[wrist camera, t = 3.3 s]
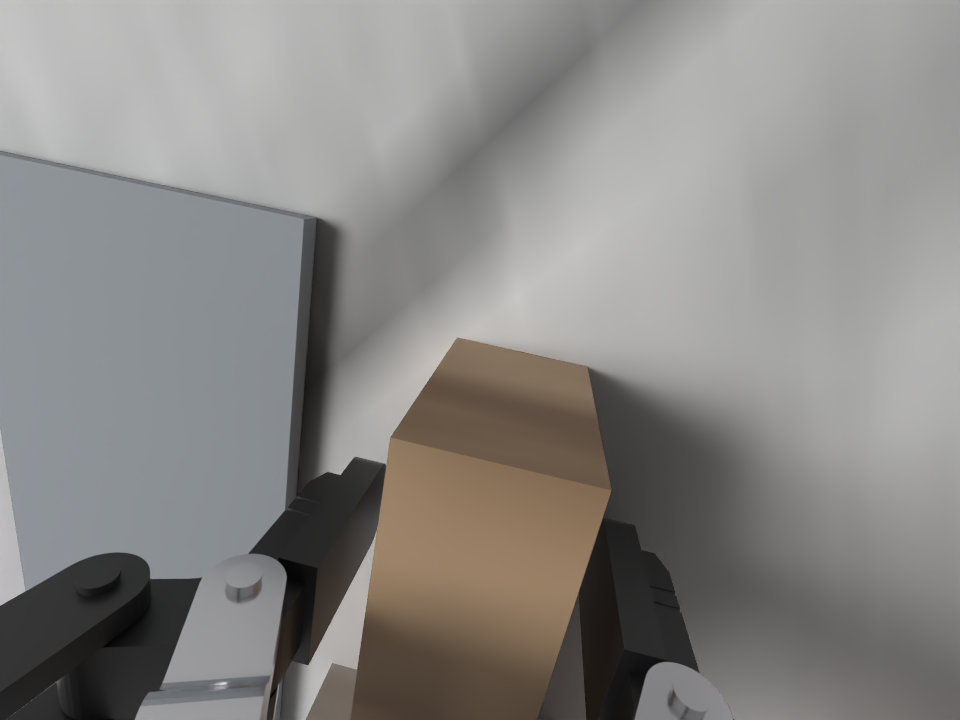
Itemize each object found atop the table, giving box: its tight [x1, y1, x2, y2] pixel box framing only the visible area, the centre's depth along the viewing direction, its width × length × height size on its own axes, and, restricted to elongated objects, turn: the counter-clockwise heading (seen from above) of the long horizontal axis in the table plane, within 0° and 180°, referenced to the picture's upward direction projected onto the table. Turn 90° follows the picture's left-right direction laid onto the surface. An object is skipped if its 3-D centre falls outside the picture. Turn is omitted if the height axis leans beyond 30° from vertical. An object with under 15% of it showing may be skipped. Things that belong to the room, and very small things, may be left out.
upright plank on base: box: [306, 338, 612, 720], centre depth 11 cm, size 12×7×5 cm, turn 169°
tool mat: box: [0, 151, 317, 720], centre depth 14 cm, size 18×8×1 cm, turn 169°
